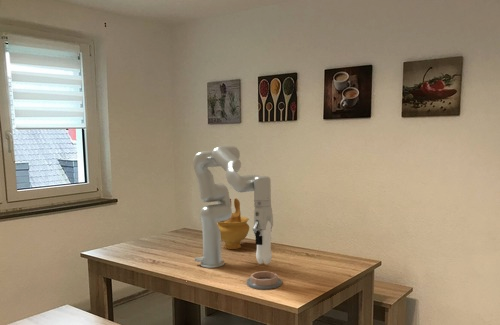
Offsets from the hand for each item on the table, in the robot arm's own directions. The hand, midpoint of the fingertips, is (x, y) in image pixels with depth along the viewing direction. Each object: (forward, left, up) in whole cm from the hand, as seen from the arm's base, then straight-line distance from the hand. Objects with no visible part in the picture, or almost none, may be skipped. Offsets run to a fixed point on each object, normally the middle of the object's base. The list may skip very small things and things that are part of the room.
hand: (263, 242), depth 180 cm
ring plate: (0, 0, -19) cm, 19 cm away
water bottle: (0, 0, -9) cm, 9 cm away
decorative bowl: (-8, +67, -19) cm, 70 cm away
